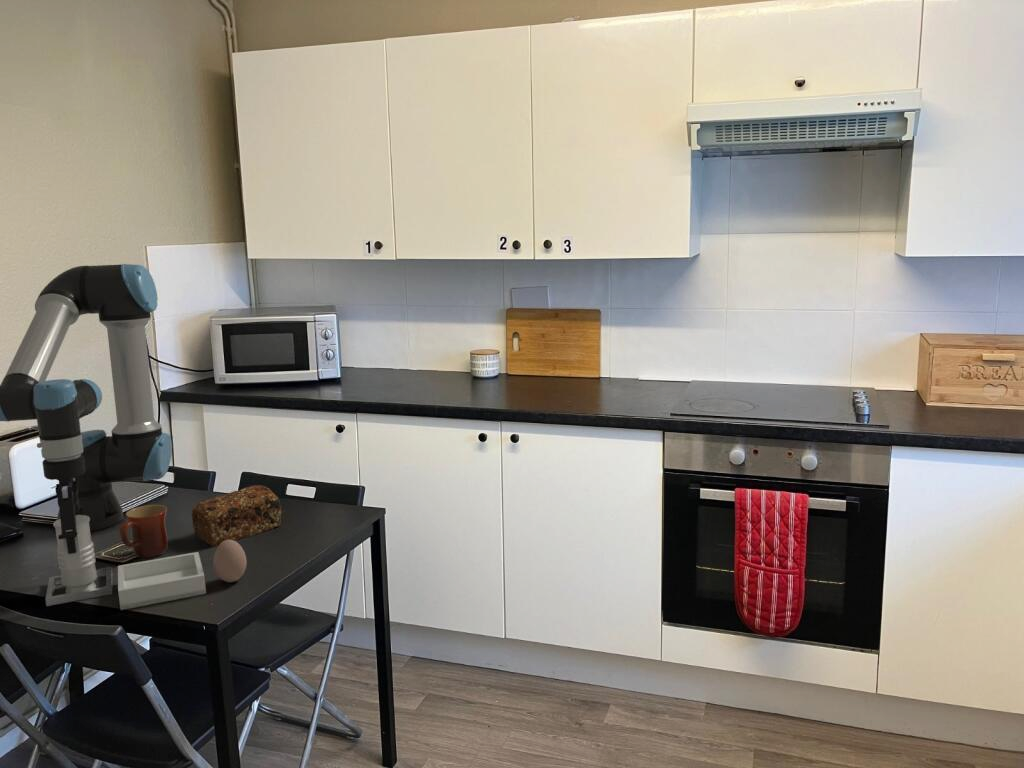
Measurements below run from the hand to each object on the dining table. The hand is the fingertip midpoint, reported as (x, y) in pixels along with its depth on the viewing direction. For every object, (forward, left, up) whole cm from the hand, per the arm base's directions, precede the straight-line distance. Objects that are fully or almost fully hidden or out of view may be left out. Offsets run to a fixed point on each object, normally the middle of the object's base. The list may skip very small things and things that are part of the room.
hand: (75, 556), depth 179 cm
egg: (+11, +29, -8) cm, 32 cm away
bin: (+8, +16, -7) cm, 19 cm away
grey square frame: (0, 0, -7) cm, 7 cm away
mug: (-13, +13, -8) cm, 20 cm away
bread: (-19, +34, -8) cm, 40 cm away
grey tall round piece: (0, 0, -8) cm, 8 cm away
